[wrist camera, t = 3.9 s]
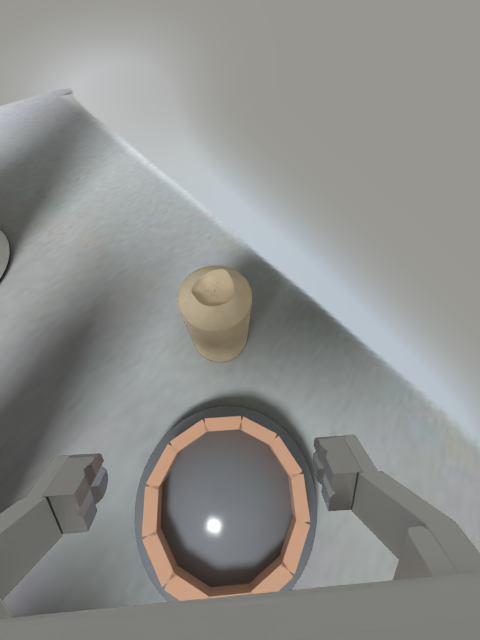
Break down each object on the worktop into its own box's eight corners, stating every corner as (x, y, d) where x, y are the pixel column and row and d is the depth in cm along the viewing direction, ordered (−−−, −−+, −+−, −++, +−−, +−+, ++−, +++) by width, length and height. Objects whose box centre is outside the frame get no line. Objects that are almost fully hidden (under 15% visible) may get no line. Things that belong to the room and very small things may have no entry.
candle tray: (131, 623, 18) (117, 649, 16) (146, 412, 24) (138, 410, 22) (328, 603, 19) (340, 625, 17) (298, 402, 25) (304, 399, 22)
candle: (214, 303, 29) (205, 241, 20) (257, 329, 28) (268, 276, 18) (183, 343, 27) (156, 295, 18) (227, 373, 26) (223, 338, 17)
